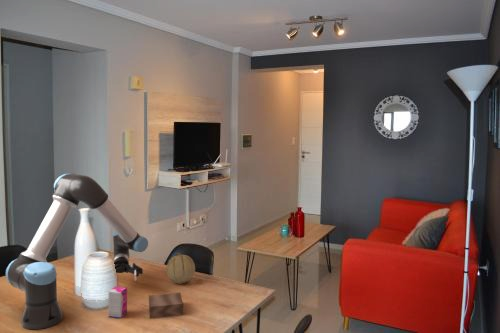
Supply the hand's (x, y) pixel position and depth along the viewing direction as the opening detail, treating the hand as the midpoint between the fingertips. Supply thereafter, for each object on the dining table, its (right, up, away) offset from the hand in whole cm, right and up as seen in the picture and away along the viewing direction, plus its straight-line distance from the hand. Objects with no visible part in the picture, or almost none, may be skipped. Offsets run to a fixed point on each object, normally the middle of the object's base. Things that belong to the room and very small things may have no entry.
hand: (119, 279), depth 190 cm
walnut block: (+22, -12, -4) cm, 25 cm away
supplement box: (+2, -13, -9) cm, 16 cm away
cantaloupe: (+23, -9, +27) cm, 37 cm away
